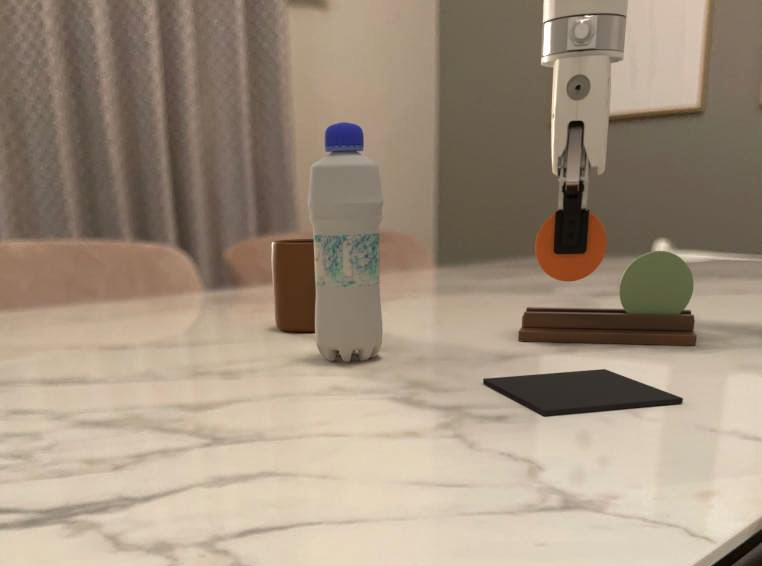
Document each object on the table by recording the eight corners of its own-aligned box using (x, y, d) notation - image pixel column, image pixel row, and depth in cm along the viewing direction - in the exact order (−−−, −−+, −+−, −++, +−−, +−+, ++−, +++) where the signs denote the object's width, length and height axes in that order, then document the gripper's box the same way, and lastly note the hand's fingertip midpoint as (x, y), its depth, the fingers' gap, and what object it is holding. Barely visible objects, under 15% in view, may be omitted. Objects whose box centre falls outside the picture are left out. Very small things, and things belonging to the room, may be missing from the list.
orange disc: (534, 280, 89) (537, 208, 86) (603, 279, 87) (609, 206, 84) (533, 281, 87) (536, 209, 84) (603, 281, 85) (609, 207, 83)
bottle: (319, 351, 83) (310, 125, 76) (387, 350, 83) (385, 123, 75) (308, 364, 77) (298, 120, 69) (382, 364, 76) (379, 118, 69)
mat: (604, 373, 71) (604, 368, 71) (682, 403, 61) (683, 398, 61) (482, 383, 69) (482, 378, 69) (544, 416, 59) (544, 410, 59)
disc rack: (525, 327, 94) (526, 304, 93) (687, 330, 90) (690, 306, 89) (518, 341, 86) (519, 316, 85) (695, 345, 82) (699, 319, 81)
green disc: (615, 321, 88) (622, 250, 85) (687, 322, 86) (696, 250, 84) (616, 323, 87) (623, 251, 84) (688, 325, 85) (698, 251, 82)
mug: (383, 323, 99) (383, 237, 95) (374, 333, 92) (373, 242, 88) (284, 322, 101) (279, 238, 97) (267, 333, 94) (262, 243, 90)
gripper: (626, 28, 71) (608, 259, 78) (623, 52, 85) (608, 246, 92) (535, 36, 73) (526, 260, 80) (546, 58, 87) (538, 247, 94)
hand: (570, 251), depth 86 cm, fingers closed on orange disc, 1 cm apart
